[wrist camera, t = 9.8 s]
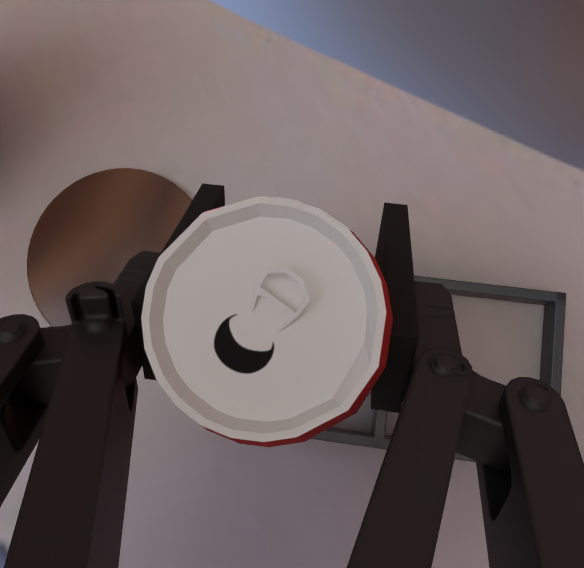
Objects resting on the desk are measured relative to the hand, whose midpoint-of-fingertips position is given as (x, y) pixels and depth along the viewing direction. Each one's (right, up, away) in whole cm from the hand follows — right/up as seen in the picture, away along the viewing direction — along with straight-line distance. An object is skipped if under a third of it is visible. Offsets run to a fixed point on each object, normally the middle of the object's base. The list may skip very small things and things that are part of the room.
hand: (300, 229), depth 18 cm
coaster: (-11, 0, +16) cm, 20 cm away
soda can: (0, -4, +4) cm, 6 cm away
